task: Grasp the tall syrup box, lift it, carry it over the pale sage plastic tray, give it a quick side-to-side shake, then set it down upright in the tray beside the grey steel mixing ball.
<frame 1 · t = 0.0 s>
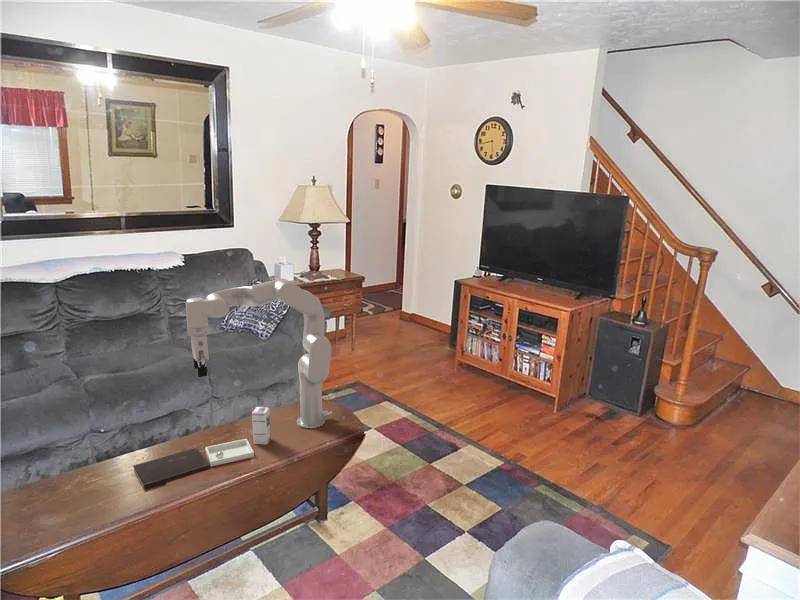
hand: (200, 372, 211), 31 cm above the table, fingers open, 9 cm apart
syrup box: (262, 442, 221), on the table
hardcover book: (172, 471, 200), on the table
mixing ball: (220, 458, 207), point 1 cm above the table, touching tray
tray: (229, 455, 210), on the table
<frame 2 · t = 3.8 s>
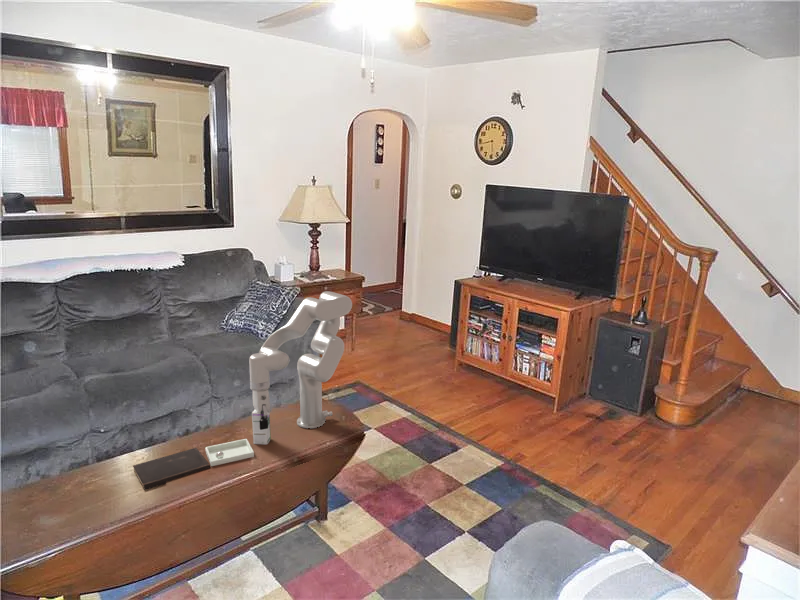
hand: (261, 424, 219), 8 cm above the table, fingers closed on syrup box, 7 cm apart
syrup box: (262, 442, 221), on the table, touching gripper
everything else where it was.
when the fingers open (10 cm above the table, at t = 12.0 s): syrup box drops 1 cm, resting on tray.
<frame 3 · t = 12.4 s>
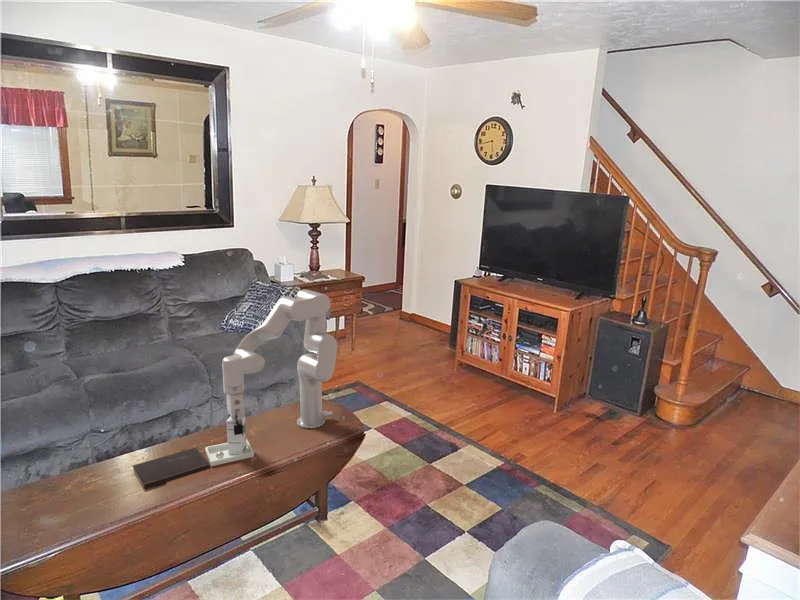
hand: (235, 428, 210), 10 cm above the table, fingers open, 9 cm apart
syrup box: (237, 451, 213), resting on tray
everything else where it was.
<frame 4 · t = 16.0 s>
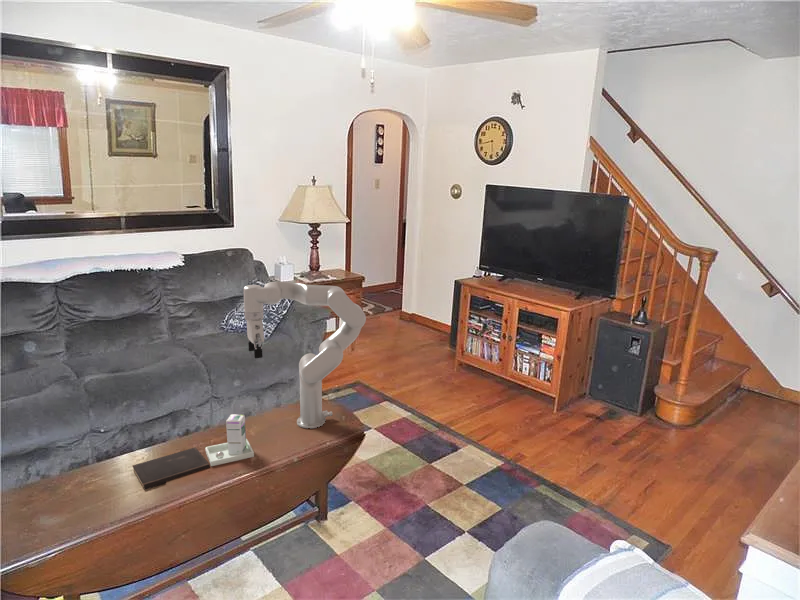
hand: (255, 354, 226), 33 cm above the table, fingers open, 9 cm apart
nothing on the table moved.
at the end: syrup box inside the target area on the tray (3.4 cm from its centre), point 0.4 cm above the tray's base; syrup box tilted 0°; the gripper is holding nothing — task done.
